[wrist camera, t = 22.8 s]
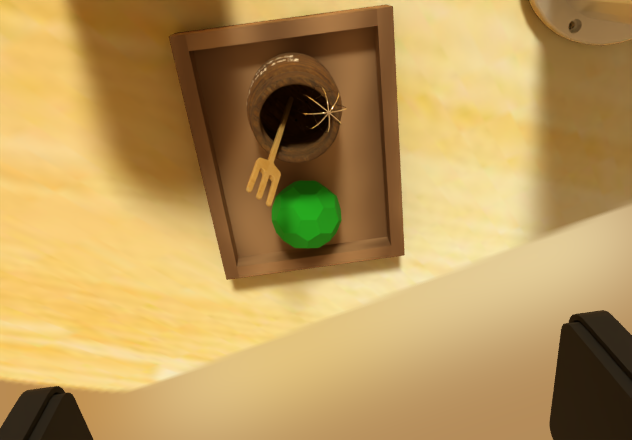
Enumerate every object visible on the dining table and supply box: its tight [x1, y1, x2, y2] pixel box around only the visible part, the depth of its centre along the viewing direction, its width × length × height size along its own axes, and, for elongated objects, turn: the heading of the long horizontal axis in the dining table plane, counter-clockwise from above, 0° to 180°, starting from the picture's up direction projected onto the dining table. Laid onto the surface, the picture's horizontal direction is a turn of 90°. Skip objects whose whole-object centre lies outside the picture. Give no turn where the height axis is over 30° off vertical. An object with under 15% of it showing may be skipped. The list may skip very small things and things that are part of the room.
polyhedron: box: [272, 180, 342, 248], centre depth 36 cm, size 5×5×5 cm
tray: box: [169, 5, 404, 280], centre depth 36 cm, size 14×18×2 cm
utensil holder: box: [246, 53, 346, 207], centre depth 29 cm, size 6×6×12 cm
